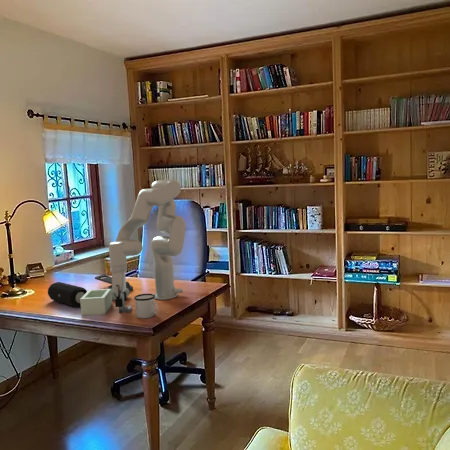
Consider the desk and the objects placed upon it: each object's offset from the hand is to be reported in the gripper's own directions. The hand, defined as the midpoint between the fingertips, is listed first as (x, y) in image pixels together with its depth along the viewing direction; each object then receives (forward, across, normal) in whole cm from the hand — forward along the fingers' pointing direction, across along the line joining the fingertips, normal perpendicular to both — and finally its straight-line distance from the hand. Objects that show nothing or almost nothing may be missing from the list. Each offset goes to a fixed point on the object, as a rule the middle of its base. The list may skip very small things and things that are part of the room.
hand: (121, 303), depth 224 cm
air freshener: (+4, -22, -5) cm, 23 cm away
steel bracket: (+4, 0, +2) cm, 4 cm away
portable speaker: (+4, -18, -30) cm, 35 cm away
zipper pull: (+4, -43, -12) cm, 45 cm away
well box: (+4, -4, -12) cm, 13 cm away
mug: (+4, +10, +14) cm, 17 cm away
